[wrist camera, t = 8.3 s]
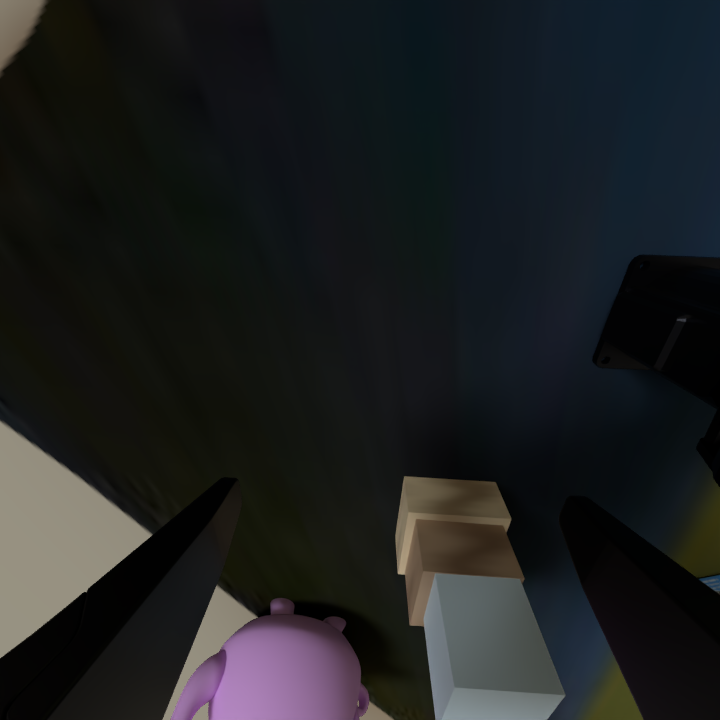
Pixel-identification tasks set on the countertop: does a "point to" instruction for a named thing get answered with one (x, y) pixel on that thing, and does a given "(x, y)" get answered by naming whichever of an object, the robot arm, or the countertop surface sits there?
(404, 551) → the oak base slab
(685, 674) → the robot arm
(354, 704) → the teapot
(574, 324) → the countertop surface
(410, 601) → the walnut mid slab
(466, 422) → the countertop surface
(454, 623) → the pale blue cube
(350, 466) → the countertop surface
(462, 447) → the countertop surface
